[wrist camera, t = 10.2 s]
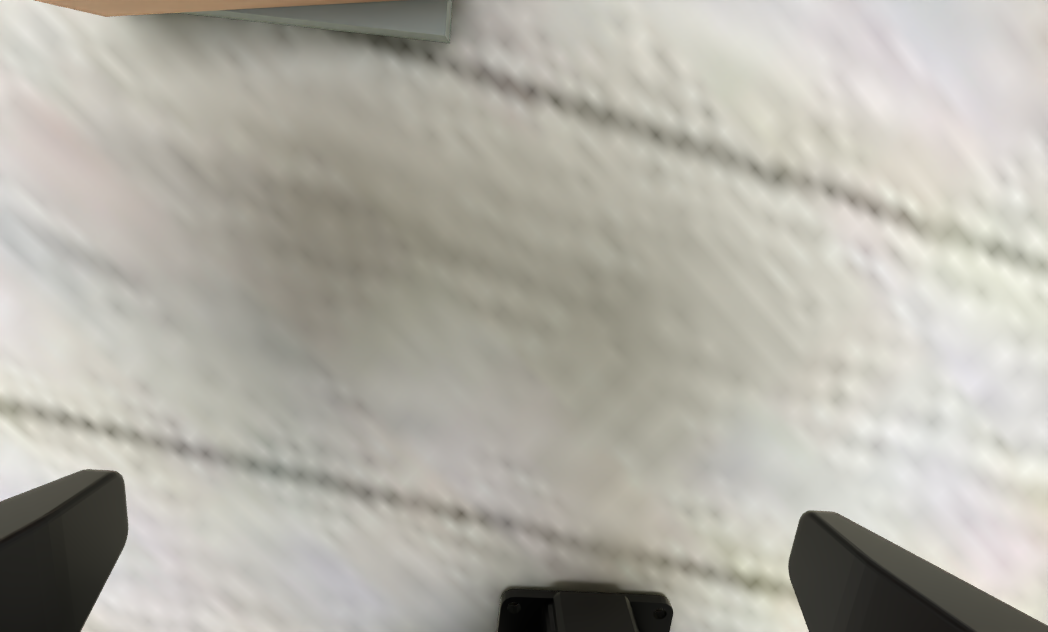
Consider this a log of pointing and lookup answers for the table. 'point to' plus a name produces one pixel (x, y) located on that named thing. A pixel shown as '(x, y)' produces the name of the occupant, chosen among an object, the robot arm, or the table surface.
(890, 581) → the robot arm
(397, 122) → the table surface
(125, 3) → the tower top slab
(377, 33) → the tower base slab
